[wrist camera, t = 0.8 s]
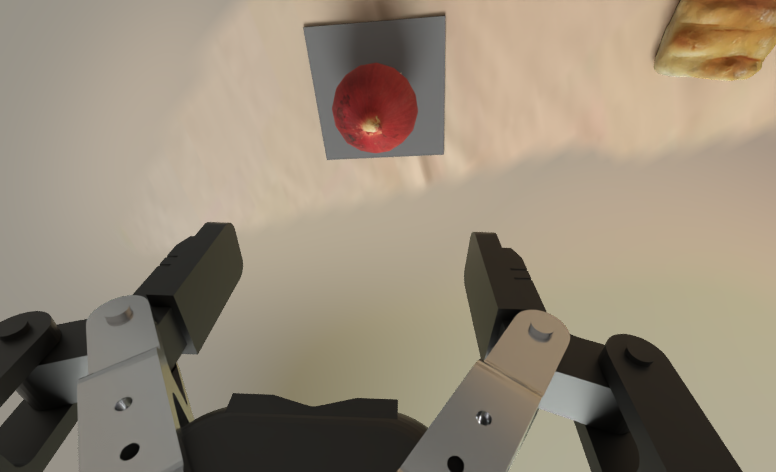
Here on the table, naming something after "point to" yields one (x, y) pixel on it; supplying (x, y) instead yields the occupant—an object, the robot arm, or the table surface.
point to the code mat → (391, 48)
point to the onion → (374, 108)
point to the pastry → (717, 39)
